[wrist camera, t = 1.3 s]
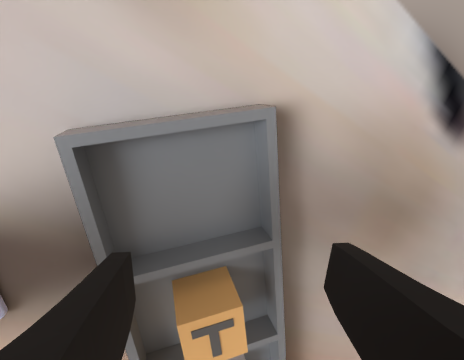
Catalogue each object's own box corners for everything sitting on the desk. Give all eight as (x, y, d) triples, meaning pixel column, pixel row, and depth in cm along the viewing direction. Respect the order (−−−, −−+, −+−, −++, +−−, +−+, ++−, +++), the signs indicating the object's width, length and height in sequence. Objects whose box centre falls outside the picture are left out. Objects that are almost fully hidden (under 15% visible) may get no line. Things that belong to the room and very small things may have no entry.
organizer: (161, 424, 24) (162, 458, 22) (68, 129, 15) (53, 137, 12) (276, 379, 26) (287, 406, 24) (259, 104, 17) (275, 106, 15)
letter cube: (181, 322, 20) (187, 374, 17) (171, 280, 19) (176, 327, 15) (231, 307, 21) (248, 353, 18) (225, 265, 20) (243, 306, 16)
